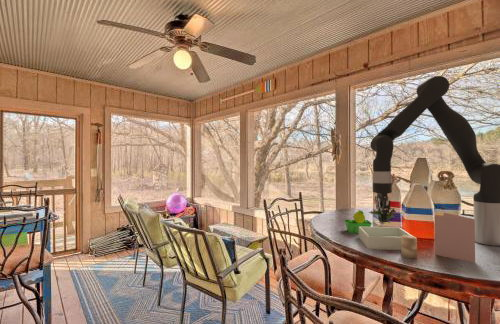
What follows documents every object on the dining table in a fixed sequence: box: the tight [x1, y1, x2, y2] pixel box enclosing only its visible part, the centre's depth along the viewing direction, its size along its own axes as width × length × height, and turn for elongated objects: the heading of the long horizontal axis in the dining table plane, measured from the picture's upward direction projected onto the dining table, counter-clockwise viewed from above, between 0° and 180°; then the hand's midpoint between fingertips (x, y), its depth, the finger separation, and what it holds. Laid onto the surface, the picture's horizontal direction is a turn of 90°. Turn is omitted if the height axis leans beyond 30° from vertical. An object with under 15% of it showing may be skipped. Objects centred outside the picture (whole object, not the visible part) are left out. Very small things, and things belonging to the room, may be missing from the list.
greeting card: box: [433, 212, 476, 263], centre depth 95 cm, size 11×7×15 cm, turn 12°
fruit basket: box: [344, 210, 372, 234], centre depth 130 cm, size 11×9×11 cm
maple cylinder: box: [400, 235, 418, 260], centre depth 97 cm, size 5×5×7 cm
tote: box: [358, 226, 413, 251], centre depth 112 cm, size 18×16×5 cm
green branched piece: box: [368, 205, 397, 225], centre depth 114 cm, size 3×12×8 cm, turn 89°
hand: (382, 220), depth 114 cm, fingers closed on green branched piece, 3 cm apart
